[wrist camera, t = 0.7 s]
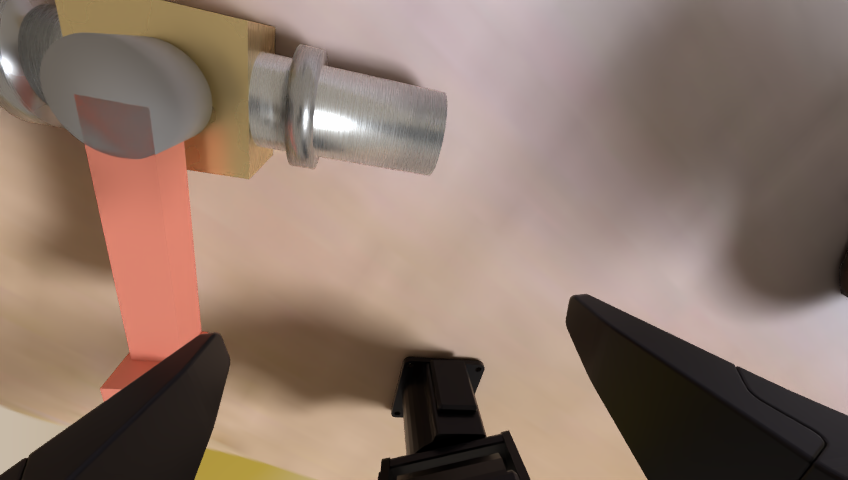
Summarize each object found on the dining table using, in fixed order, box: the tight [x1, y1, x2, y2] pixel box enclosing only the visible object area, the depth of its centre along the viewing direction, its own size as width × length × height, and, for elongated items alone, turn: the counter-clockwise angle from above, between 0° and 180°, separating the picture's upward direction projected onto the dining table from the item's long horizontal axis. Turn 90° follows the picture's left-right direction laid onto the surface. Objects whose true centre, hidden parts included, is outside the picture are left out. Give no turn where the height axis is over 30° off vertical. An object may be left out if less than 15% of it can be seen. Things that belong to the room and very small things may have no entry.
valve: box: [0, 0, 447, 179], centre depth 15 cm, size 6×22×5 cm, turn 78°
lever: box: [40, 33, 212, 402], centre depth 14 cm, size 15×4×4 cm, turn 168°
